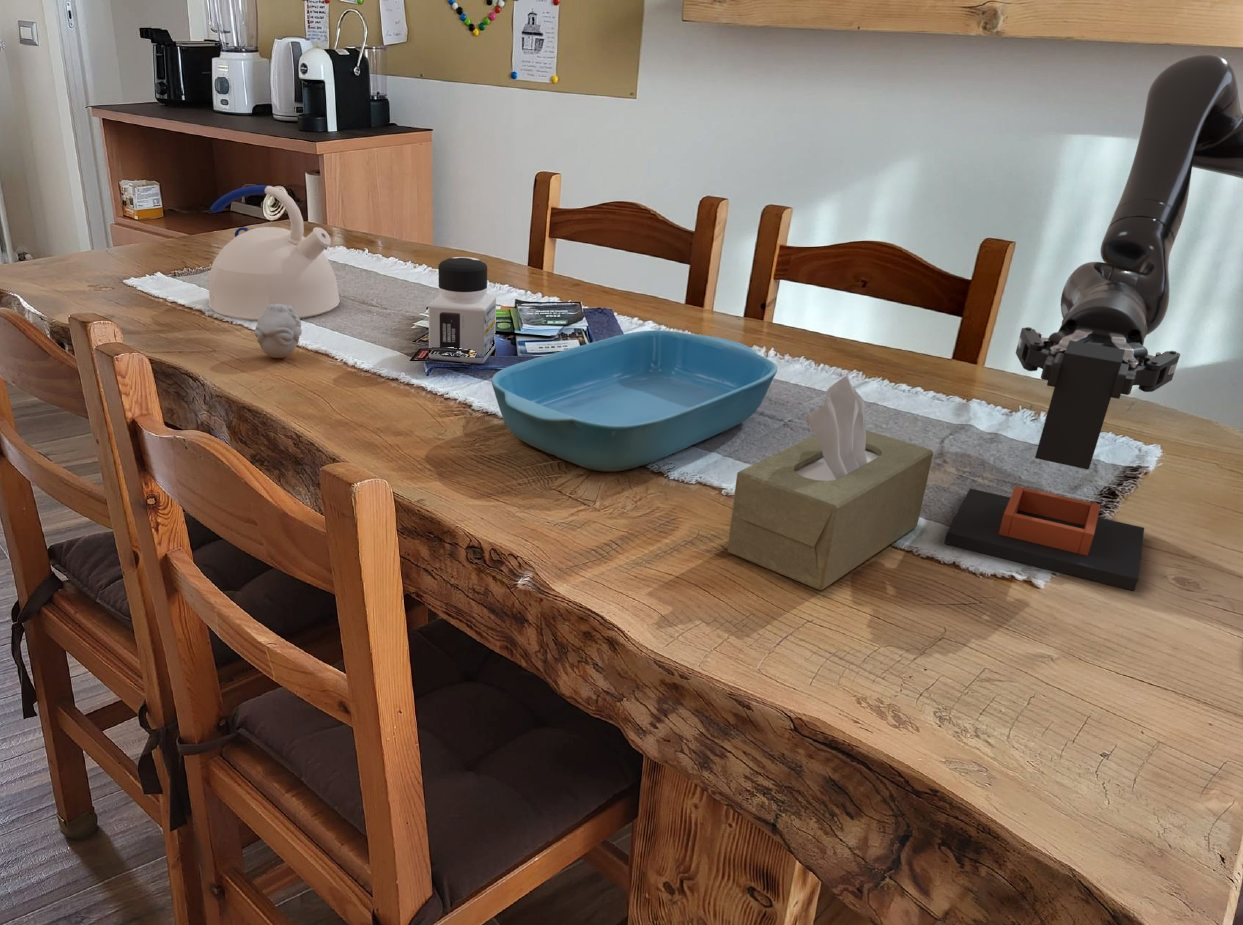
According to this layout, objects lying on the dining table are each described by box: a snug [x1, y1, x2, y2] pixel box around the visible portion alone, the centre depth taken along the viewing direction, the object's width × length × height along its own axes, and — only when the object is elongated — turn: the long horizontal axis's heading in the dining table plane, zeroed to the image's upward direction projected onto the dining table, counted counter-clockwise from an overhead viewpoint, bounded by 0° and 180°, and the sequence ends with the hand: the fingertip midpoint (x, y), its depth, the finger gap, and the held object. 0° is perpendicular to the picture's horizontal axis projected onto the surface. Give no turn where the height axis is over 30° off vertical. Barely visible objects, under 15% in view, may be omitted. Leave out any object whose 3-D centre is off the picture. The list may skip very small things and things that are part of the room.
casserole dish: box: [490, 329, 778, 473], centre depth 120 cm, size 37×22×7 cm, turn 135°
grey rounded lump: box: [254, 304, 303, 359], centre depth 139 cm, size 6×7×7 cm
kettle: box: [208, 184, 341, 322], centre depth 160 cm, size 20×21×18 cm
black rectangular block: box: [1034, 340, 1125, 470], centre depth 93 cm, size 4×4×10 cm
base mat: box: [944, 485, 1145, 592], centre depth 98 cm, size 16×12×3 cm
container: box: [427, 256, 497, 365], centre depth 141 cm, size 8×8×13 cm
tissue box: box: [726, 374, 934, 591], centre depth 94 cm, size 19×10×16 cm, turn 136°
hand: (1085, 381), depth 90 cm, fingers closed on black rectangular block, 4 cm apart
